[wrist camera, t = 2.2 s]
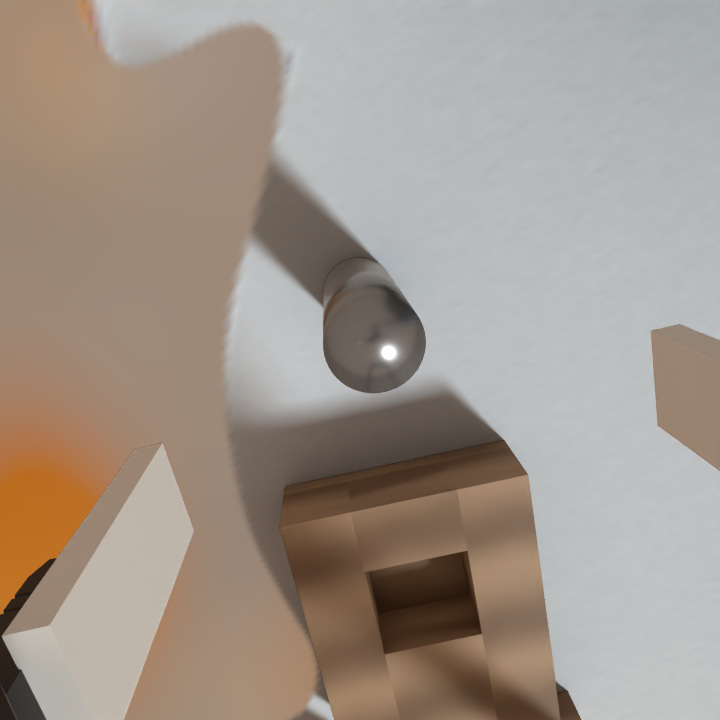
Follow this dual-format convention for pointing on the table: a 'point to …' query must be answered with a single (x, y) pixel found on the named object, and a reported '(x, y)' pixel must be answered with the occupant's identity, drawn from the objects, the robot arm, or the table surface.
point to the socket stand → (426, 589)
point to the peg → (369, 328)
